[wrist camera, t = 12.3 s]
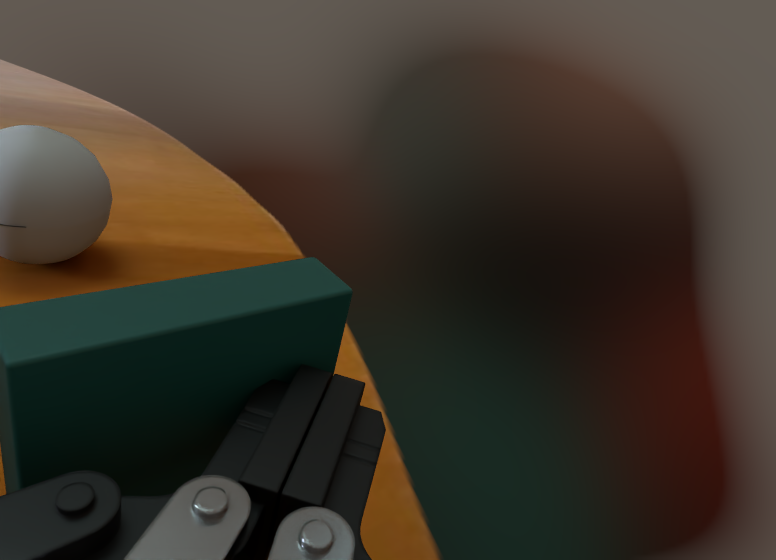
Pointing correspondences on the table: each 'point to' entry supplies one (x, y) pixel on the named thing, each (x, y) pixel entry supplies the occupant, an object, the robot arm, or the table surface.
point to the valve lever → (156, 370)
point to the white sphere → (49, 195)
